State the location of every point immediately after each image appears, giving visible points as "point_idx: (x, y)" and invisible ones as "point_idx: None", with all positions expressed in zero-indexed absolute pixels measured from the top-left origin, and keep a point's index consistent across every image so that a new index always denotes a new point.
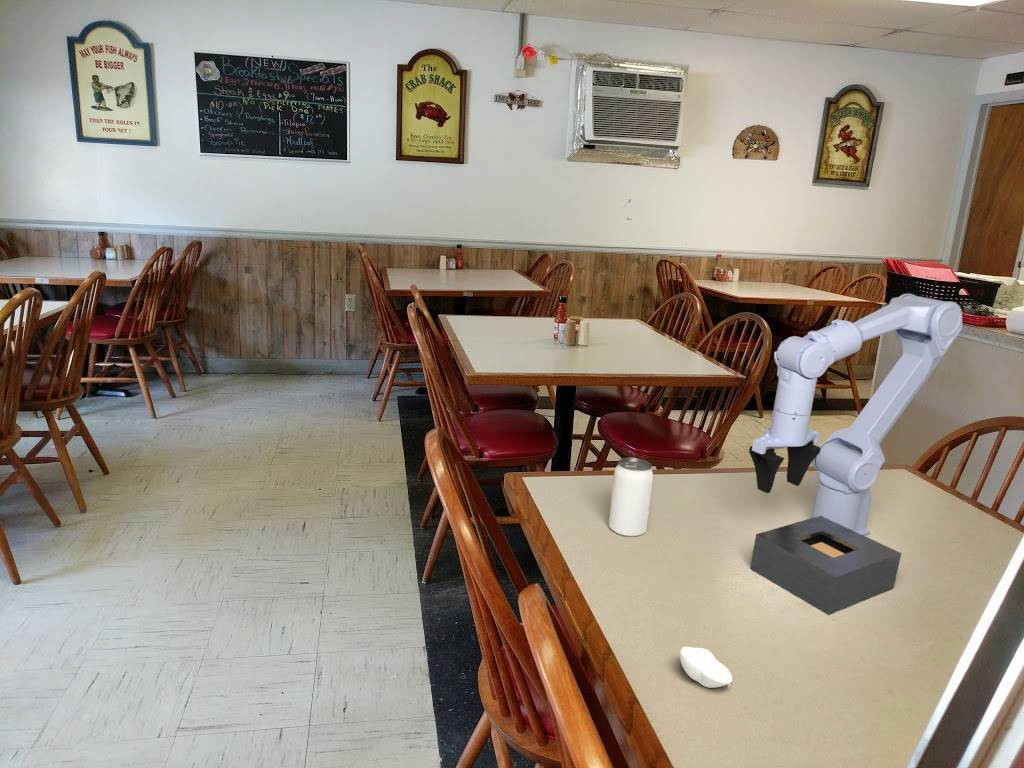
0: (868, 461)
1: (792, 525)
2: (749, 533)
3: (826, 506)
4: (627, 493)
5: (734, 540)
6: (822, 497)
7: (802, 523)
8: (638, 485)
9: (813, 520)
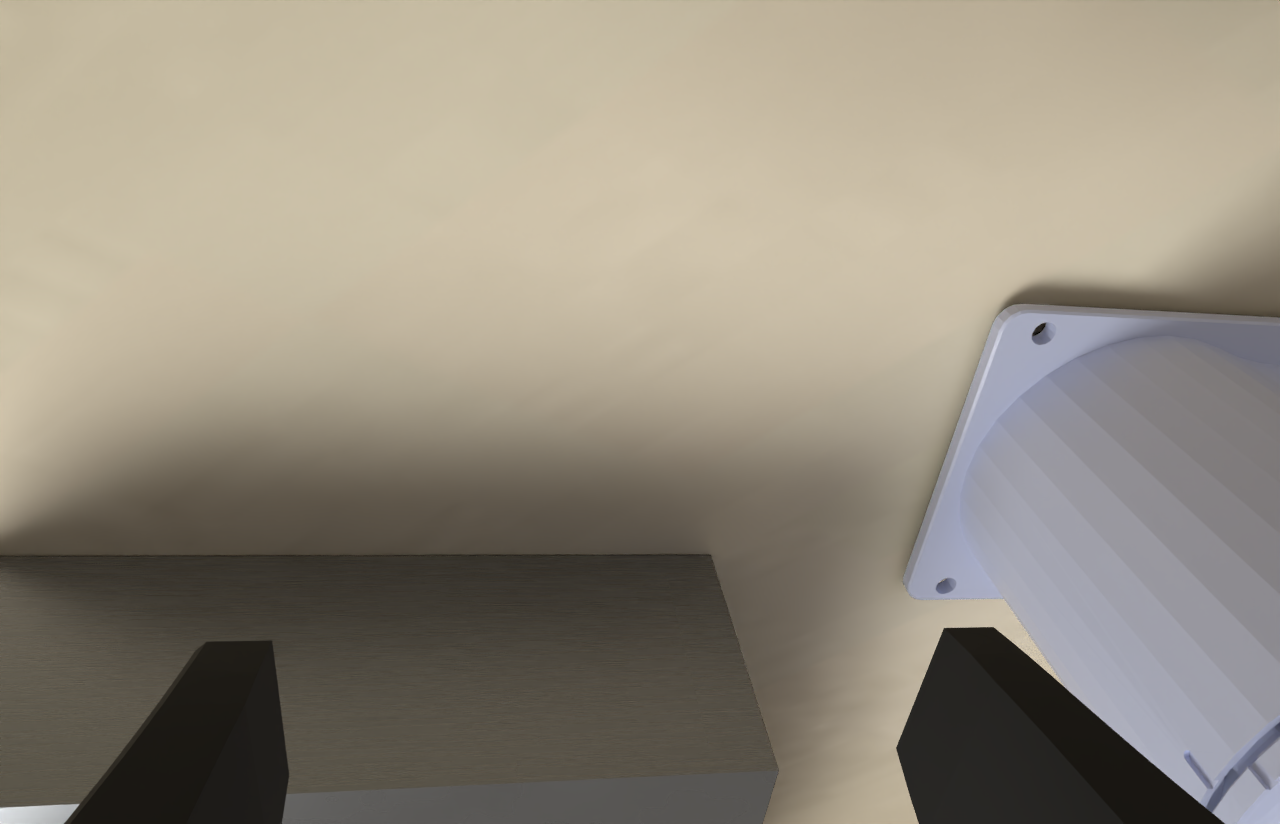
0: None
1: (335, 806)
2: (459, 180)
3: (1081, 640)
4: None
5: (187, 201)
6: (1150, 647)
7: (464, 810)
8: None
9: (619, 804)
